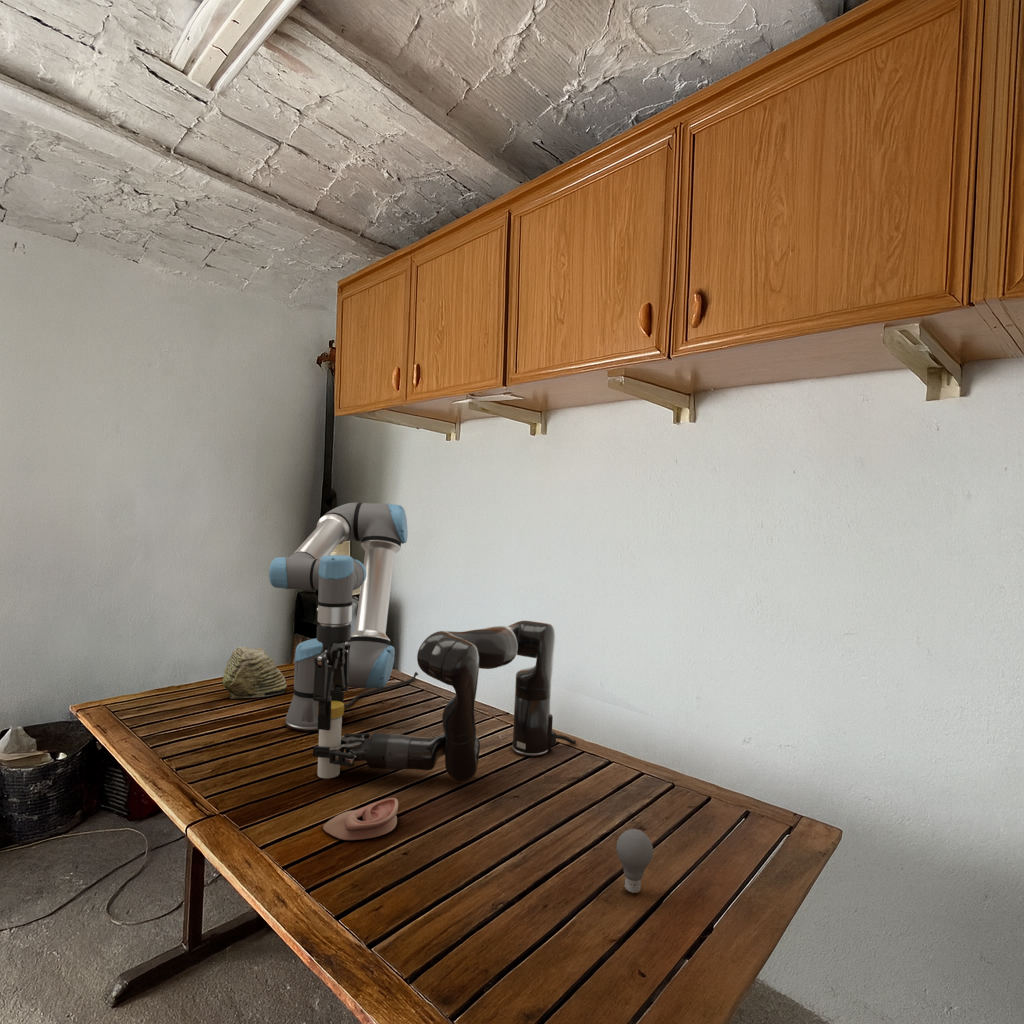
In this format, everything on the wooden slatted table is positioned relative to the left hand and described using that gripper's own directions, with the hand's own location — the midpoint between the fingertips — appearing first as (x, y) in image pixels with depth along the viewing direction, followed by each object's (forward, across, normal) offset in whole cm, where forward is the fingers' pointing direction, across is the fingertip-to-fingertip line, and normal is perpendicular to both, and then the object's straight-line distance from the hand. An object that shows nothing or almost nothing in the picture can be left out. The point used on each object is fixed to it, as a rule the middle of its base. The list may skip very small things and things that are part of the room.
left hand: (330, 724), depth 145 cm
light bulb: (+11, +28, +68) cm, 74 cm away
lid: (-4, 0, 0) cm, 4 cm away
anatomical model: (+11, +20, +17) cm, 28 cm away
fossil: (+11, -46, -47) cm, 67 cm away
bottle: (+11, 0, 0) cm, 11 cm away
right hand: (+5, 0, -3) cm, 6 cm away
